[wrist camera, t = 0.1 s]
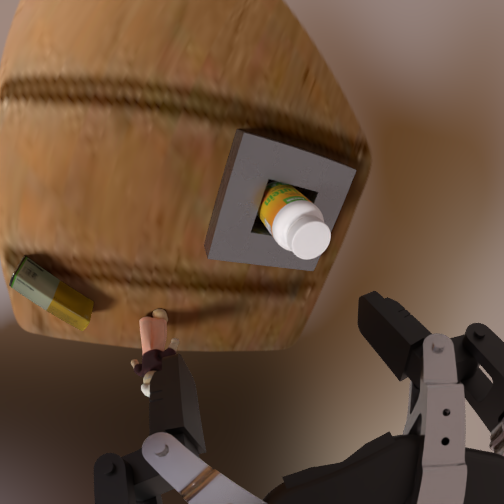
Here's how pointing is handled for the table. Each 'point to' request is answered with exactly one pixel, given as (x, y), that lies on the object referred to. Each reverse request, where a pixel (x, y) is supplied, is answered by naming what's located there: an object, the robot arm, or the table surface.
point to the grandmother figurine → (153, 347)
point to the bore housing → (251, 192)
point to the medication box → (51, 294)
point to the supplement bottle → (293, 221)
